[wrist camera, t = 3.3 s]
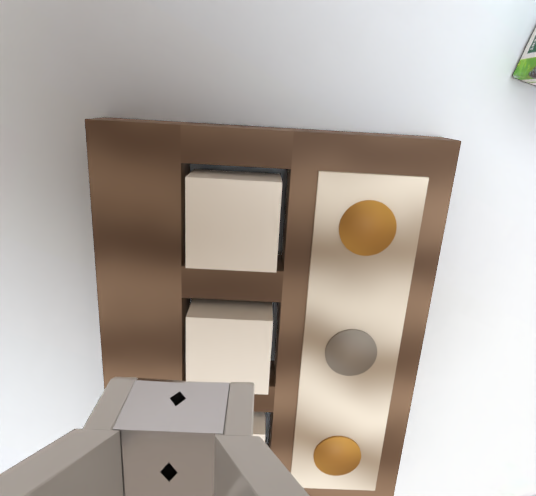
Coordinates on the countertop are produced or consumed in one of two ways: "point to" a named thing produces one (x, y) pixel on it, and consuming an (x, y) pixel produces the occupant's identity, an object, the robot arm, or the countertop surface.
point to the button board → (284, 278)
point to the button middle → (229, 342)
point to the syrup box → (528, 63)
